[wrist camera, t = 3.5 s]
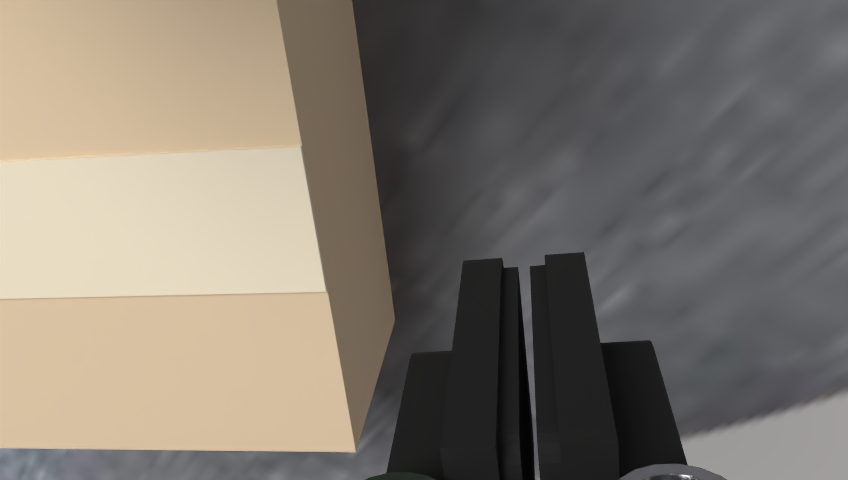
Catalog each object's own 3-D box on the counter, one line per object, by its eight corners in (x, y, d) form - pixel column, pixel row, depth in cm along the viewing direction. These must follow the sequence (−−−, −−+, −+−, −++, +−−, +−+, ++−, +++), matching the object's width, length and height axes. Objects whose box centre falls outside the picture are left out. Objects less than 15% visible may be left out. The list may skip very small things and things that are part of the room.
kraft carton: (338, -119, 18) (256, -104, 13) (396, 315, 24) (354, 454, 18) (-42, -78, 20) (-255, -50, 15) (92, 320, 25) (-30, 450, 20)
